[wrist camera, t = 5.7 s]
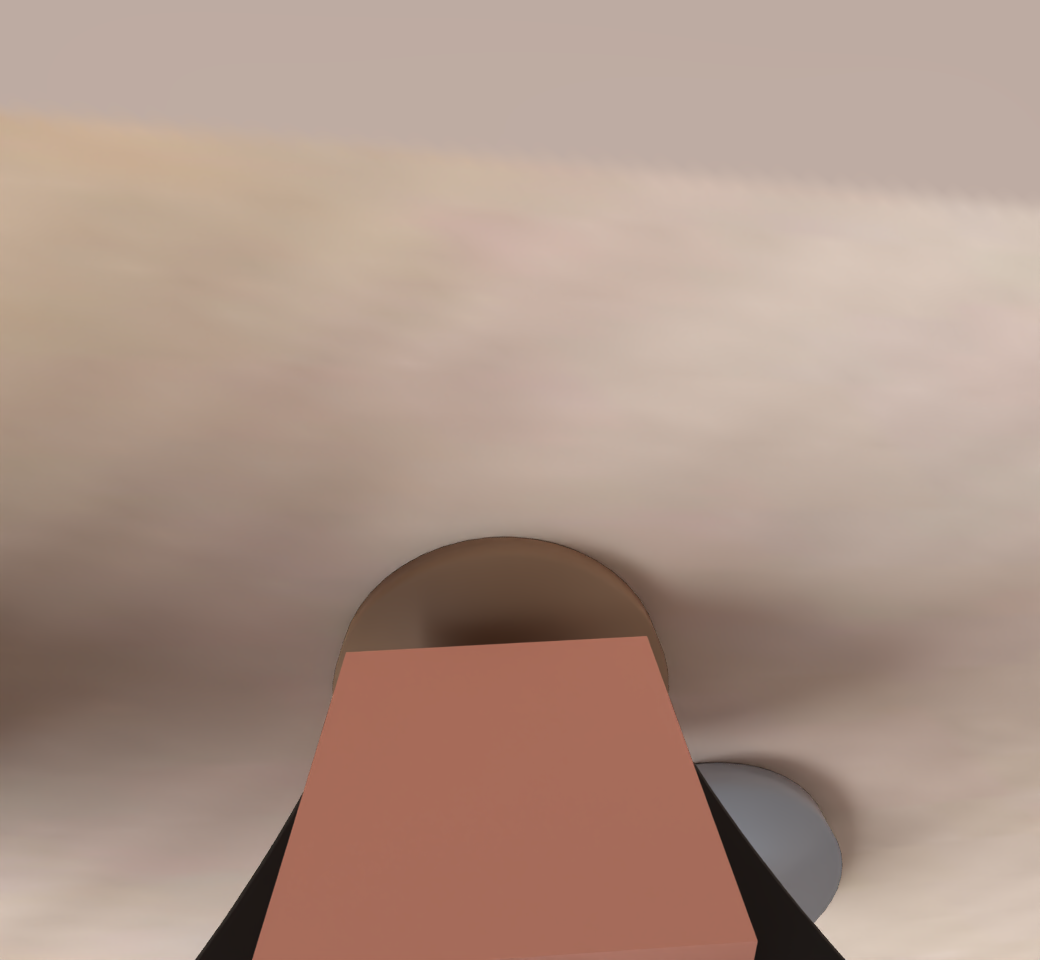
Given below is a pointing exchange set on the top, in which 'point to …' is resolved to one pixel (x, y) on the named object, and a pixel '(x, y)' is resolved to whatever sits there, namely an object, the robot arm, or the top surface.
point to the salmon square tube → (504, 815)
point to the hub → (498, 600)
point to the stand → (781, 830)
